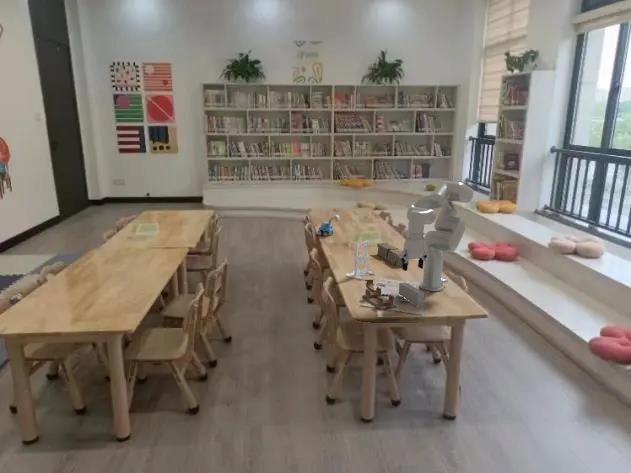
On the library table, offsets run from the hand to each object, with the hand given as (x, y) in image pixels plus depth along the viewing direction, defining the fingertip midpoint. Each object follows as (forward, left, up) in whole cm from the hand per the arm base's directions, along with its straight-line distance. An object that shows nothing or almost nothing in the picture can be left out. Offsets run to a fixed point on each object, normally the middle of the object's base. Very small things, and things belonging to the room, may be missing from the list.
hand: (412, 269), depth 229 cm
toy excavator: (-21, -132, -17) cm, 135 cm away
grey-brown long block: (-32, -61, -17) cm, 71 cm away
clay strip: (0, 0, -17) cm, 17 cm away
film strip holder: (+4, -44, -17) cm, 47 cm away
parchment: (+6, -22, -17) cm, 28 cm away
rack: (+16, -5, -17) cm, 23 cm away
